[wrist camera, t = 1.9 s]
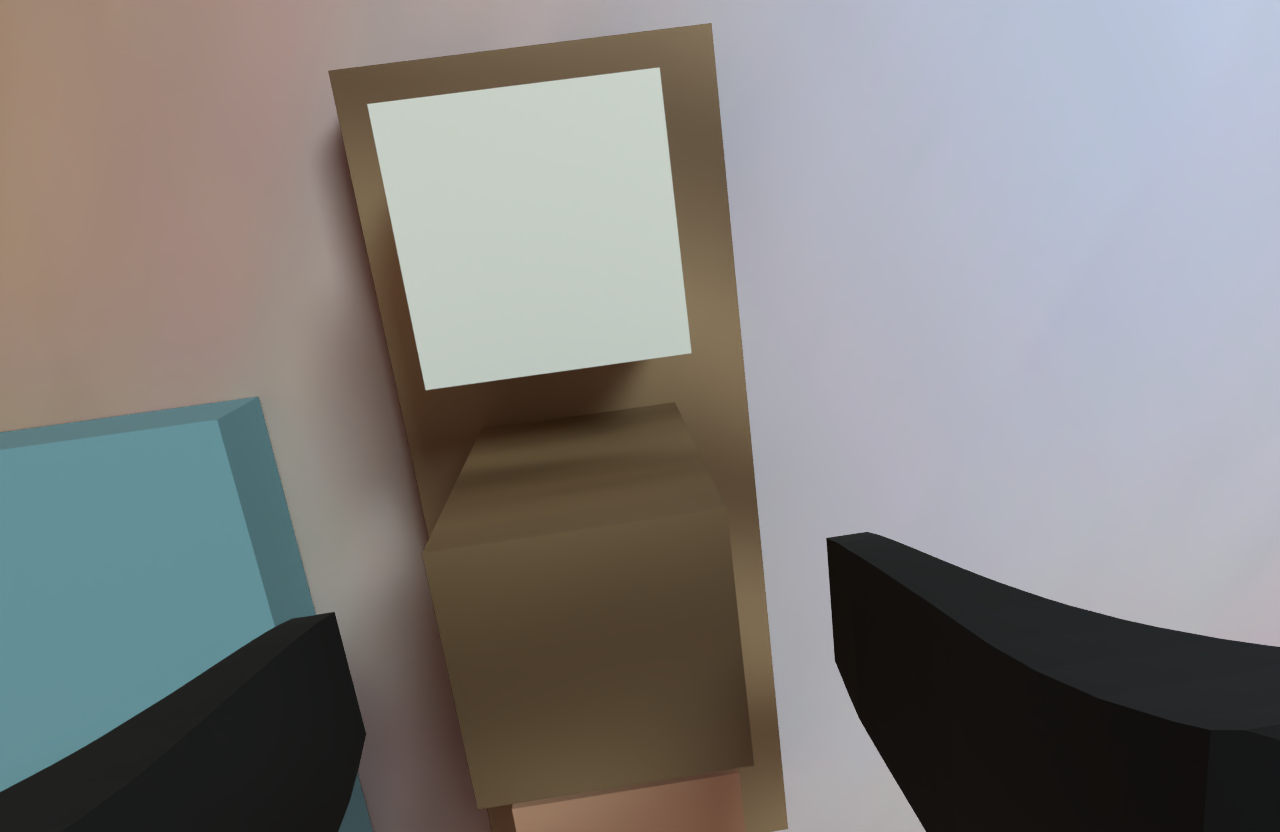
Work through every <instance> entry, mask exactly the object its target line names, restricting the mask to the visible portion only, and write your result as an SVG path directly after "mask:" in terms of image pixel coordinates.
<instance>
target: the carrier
mask: <svg viewBox="0 0 1280 832" xmlns="http://www.w3.org/2000/svg"><path fill="white" fill-rule="evenodd" d="M659 67H660V75H661V84H662V93H663V102H664V111H665V120H666V129H667V137H668V146H669V155H670V164H671V173H672V182H673V191H674V200H675V209H676V218H677V227H678V236H679V245H680V254H681V263H682V272H683V281H684V290H685V299H686V308H687V316H688V325H689V334H690V343H691V352H692V353H689V354H682V355H675V356H668V357H661V358H653V359H646V360H639V361H632V362H625V363H618V364H610V365H603V366H596V367H589V368H582V369H574V370H567V371H560V372H553V373H546V374H538V375H531V376H524V377H517V378H510V379H503V380H495V381H488V382H481V383H474V384H467V385H459V386H452V387H445V388H438V389H431V390H425V385H424V380H423V375H422V370H421V365H420V360H419V355H418V351H417V346H416V341H415V336H414V331H413V326H412V321H411V316H410V311H409V307H408V302H407V297H406V292H405V287H404V282H403V277H402V272H401V267H400V263H399V258H398V253H397V248H396V243H395V238H394V233H393V228H392V223H391V219H390V214H389V209H388V204H387V199H386V194H385V189H384V184H383V179H382V175H381V170H380V165H379V160H378V155H377V150H376V145H375V140H374V135H373V130H372V126H371V121H370V116H369V111H368V106H367V104H372V103H380V102H388V101H396V100H404V99H412V98H420V97H428V96H436V95H443V94H451V93H459V92H467V91H475V90H483V89H491V88H499V87H507V86H515V85H523V84H531V83H539V82H547V81H555V80H563V79H571V78H579V77H587V76H595V75H603V74H611V73H619V72H627V71H635V70H643V69H651V68H659ZM328 72H329V77H330V81H331V86H332V91H333V95H334V100H335V105H336V109H337V114H338V118H339V123H340V128H341V132H342V137H343V142H344V146H345V151H346V156H347V160H348V165H349V170H350V174H351V179H352V184H353V188H354V193H355V198H356V202H357V207H358V211H359V216H360V221H361V225H362V230H363V235H364V239H365V244H366V249H367V253H368V258H369V263H370V267H371V272H372V277H373V281H374V286H375V290H376V295H377V300H378V304H379V309H380V314H381V318H382V323H383V328H384V332H385V337H386V342H387V346H388V351H389V356H390V360H391V365H392V369H393V374H394V379H395V383H396V388H397V393H398V397H399V402H400V407H401V411H402V416H403V421H404V425H405V430H406V435H407V439H408V444H409V449H410V453H411V458H412V462H413V467H414V472H415V476H416V481H417V486H418V490H419V495H420V500H421V504H422V509H423V514H424V518H425V523H426V528H427V532H428V537H429V539H428V542H427V544H426V546H425V548H424V550H423V552H422V557H423V561H424V566H425V570H426V575H427V579H428V584H429V589H430V593H431V598H432V602H433V607H434V611H435V616H436V621H437V625H438V630H439V634H440V639H441V643H442V648H443V652H444V657H445V662H446V666H447V671H448V675H449V680H450V684H451V689H452V694H453V698H454V703H455V707H456V712H457V716H458V721H459V726H460V730H461V735H462V739H463V744H464V748H465V753H466V758H467V762H468V767H469V771H470V776H471V780H472V785H473V790H474V794H475V799H476V803H477V808H478V809H485V808H487V811H488V816H489V820H490V825H491V830H492V832H516V827H515V822H514V817H513V812H512V804H516V803H522V802H529V801H535V800H541V799H547V798H554V797H560V796H566V795H572V794H579V793H585V792H591V791H597V790H604V789H610V788H616V787H623V786H629V785H635V784H641V783H648V782H654V781H660V780H666V779H673V778H679V777H685V776H691V775H698V774H704V773H710V772H716V771H723V770H729V769H735V768H738V771H739V777H740V786H741V794H742V803H743V812H744V821H745V830H746V832H771V831H777V830H783V829H788V824H787V813H786V803H785V792H784V782H783V771H782V761H781V750H780V740H779V729H778V719H777V708H776V698H775V687H774V677H773V666H772V656H771V645H770V634H769V624H768V613H767V603H766V592H765V582H764V571H763V561H762V550H761V540H760V529H759V519H758V508H757V498H756V487H755V477H754V466H753V455H752V445H751V434H750V424H749V413H748V403H747V392H746V382H745V371H744V361H743V350H742V340H741V329H740V319H739V308H738V298H737V287H736V276H735V266H734V255H733V245H732V234H731V224H730V213H729V203H728V192H727V182H726V171H725V161H724V150H723V140H722V129H721V119H720V108H719V97H718V87H717V76H716V66H715V55H714V45H713V34H712V24H711V23H708V24H700V25H692V26H684V27H676V28H668V29H660V30H652V31H644V32H636V33H628V34H620V35H612V36H604V37H596V38H588V39H580V40H572V41H564V42H556V43H547V44H539V45H531V46H523V47H515V48H507V49H499V50H491V51H483V52H475V53H467V54H459V55H451V56H443V57H435V58H427V59H419V60H411V61H403V62H395V63H387V64H379V65H371V66H363V67H355V68H347V69H339V70H331V71H328Z"/></svg>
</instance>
